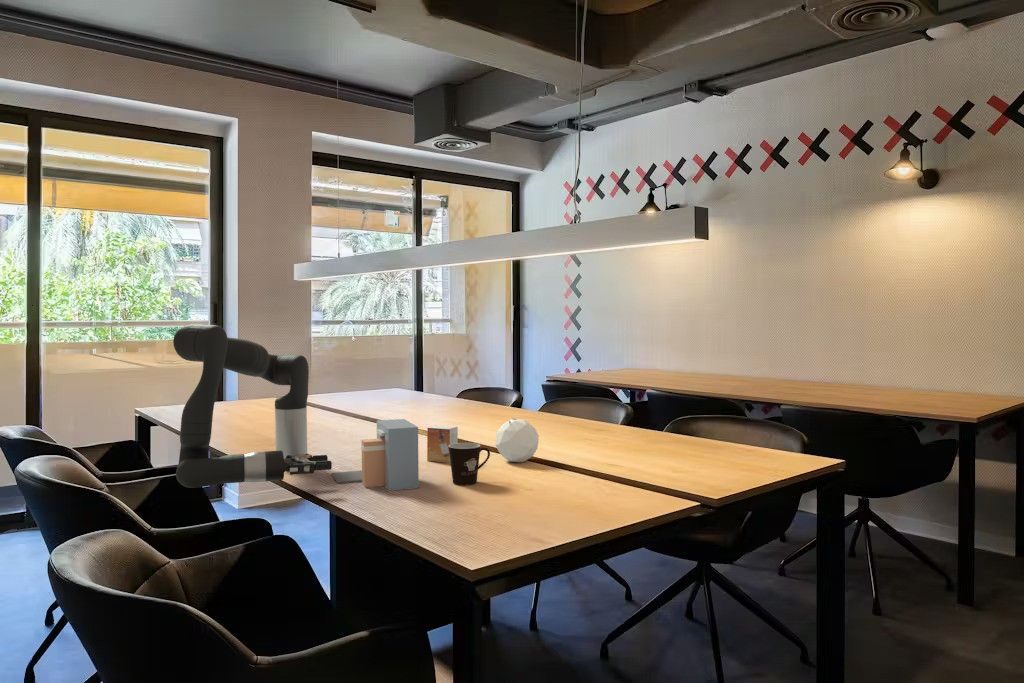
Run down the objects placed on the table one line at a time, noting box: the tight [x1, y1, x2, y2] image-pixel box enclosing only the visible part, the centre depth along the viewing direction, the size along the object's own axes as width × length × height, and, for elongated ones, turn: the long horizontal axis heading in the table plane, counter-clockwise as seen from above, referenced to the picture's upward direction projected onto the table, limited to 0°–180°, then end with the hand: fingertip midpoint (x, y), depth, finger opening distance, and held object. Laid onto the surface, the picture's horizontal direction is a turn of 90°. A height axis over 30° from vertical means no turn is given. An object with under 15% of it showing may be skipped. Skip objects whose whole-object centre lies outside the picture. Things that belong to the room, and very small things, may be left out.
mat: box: [331, 469, 362, 485], centre depth 202 cm, size 12×11×1 cm
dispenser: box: [376, 418, 420, 492], centre depth 195 cm, size 16×9×16 cm, turn 21°
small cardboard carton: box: [360, 438, 385, 488], centre depth 193 cm, size 4×6×12 cm
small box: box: [426, 425, 459, 464], centre depth 225 cm, size 8×6×10 cm
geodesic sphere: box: [495, 417, 540, 463], centre depth 222 cm, size 14×14×14 cm
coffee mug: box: [449, 442, 491, 486], centre depth 195 cm, size 12×9×10 cm
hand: (329, 461), depth 189 cm, fingers open, 8 cm apart
